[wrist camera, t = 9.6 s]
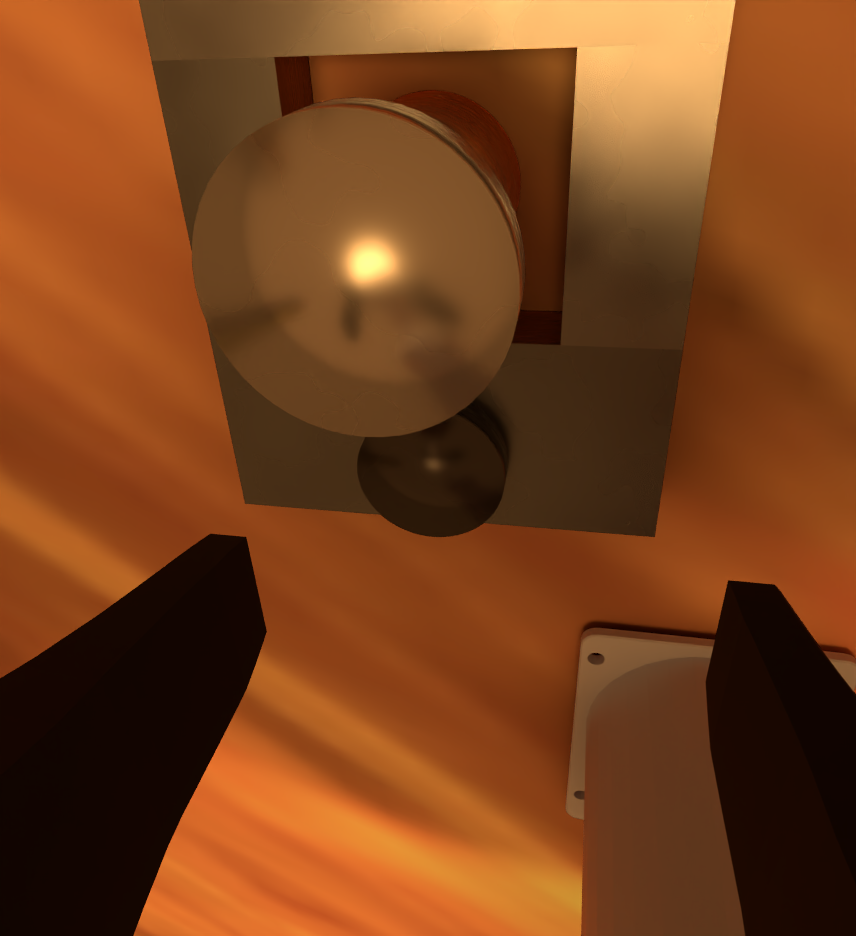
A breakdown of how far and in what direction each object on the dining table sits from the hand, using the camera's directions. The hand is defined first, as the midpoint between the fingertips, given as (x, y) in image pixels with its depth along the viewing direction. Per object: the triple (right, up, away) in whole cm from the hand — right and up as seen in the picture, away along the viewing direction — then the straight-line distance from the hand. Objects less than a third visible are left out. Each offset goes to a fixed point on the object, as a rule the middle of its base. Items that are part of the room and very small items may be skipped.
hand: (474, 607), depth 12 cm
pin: (-1, +9, +6) cm, 10 cm away
